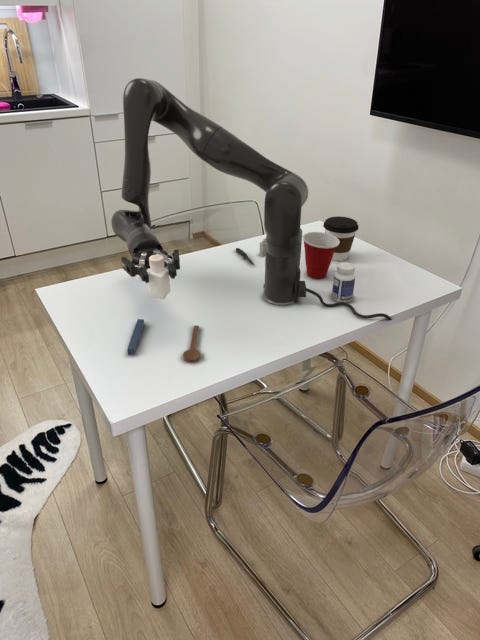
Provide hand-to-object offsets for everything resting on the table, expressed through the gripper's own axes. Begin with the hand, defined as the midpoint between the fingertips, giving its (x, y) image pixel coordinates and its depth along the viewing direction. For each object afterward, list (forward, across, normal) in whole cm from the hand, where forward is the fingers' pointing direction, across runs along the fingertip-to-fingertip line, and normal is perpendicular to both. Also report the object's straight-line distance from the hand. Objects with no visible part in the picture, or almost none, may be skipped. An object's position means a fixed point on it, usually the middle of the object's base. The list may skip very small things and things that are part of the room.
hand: (160, 276), depth 107 cm
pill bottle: (-4, +51, +18) cm, 54 cm away
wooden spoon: (+3, +6, +18) cm, 19 cm away
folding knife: (-37, +35, +18) cm, 54 cm away
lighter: (-39, +44, +18) cm, 61 cm away
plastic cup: (-19, +51, +18) cm, 57 cm away
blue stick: (-4, -6, +18) cm, 19 cm away
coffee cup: (-28, +64, +18) cm, 72 cm away
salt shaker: (-3, 0, +6) cm, 7 cm away
